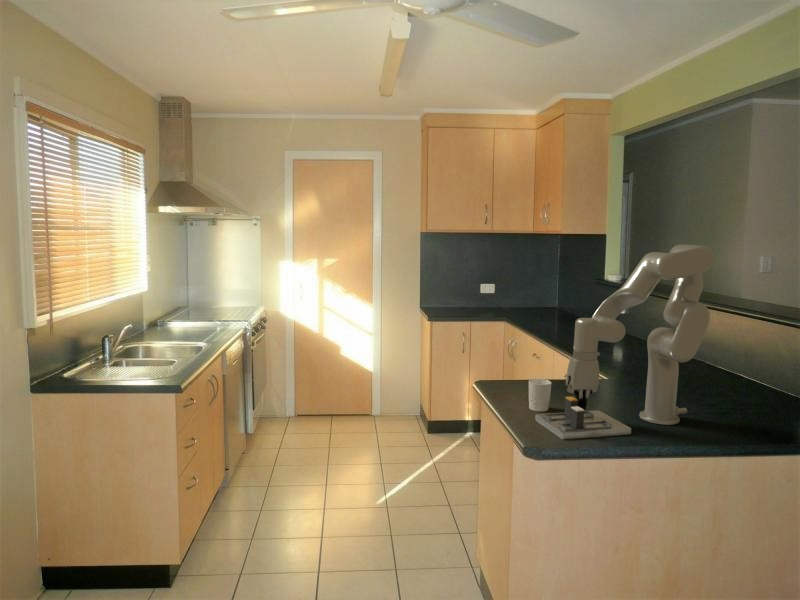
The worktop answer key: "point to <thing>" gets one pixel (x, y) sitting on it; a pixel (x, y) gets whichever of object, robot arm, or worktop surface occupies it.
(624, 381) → the worktop surface
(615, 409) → the worktop surface
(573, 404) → the block
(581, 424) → the fader
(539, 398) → the white cup
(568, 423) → the console
